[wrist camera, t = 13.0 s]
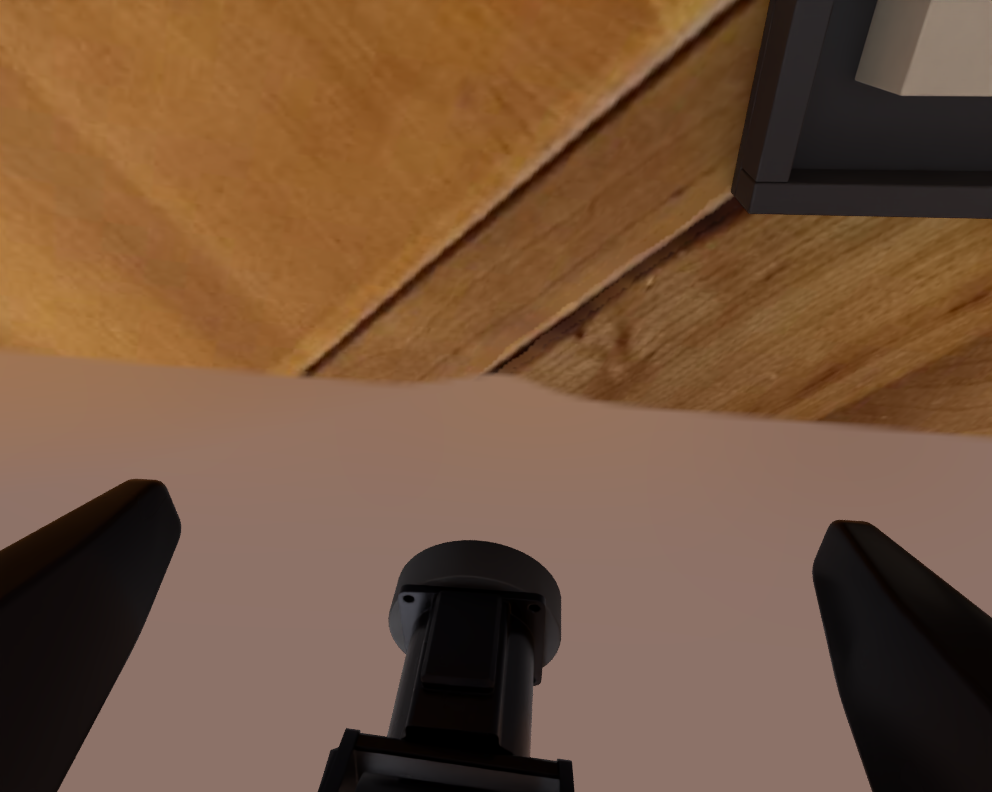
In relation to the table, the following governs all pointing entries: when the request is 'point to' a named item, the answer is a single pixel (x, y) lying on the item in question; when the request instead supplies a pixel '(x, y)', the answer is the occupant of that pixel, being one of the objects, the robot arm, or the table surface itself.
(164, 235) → the table surface
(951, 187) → the tray
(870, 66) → the loose pad
